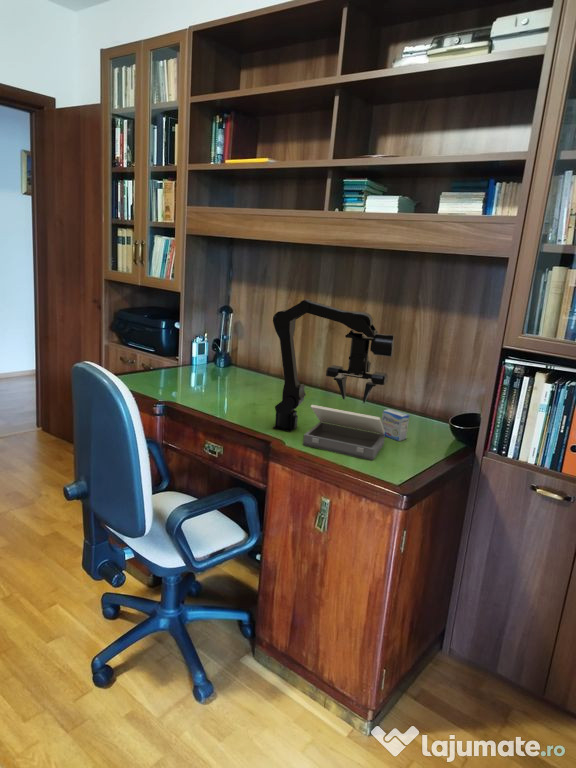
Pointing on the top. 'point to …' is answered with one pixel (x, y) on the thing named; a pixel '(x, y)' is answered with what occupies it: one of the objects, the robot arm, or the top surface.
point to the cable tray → (344, 440)
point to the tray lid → (349, 419)
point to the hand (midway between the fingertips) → (353, 400)
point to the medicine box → (395, 424)
